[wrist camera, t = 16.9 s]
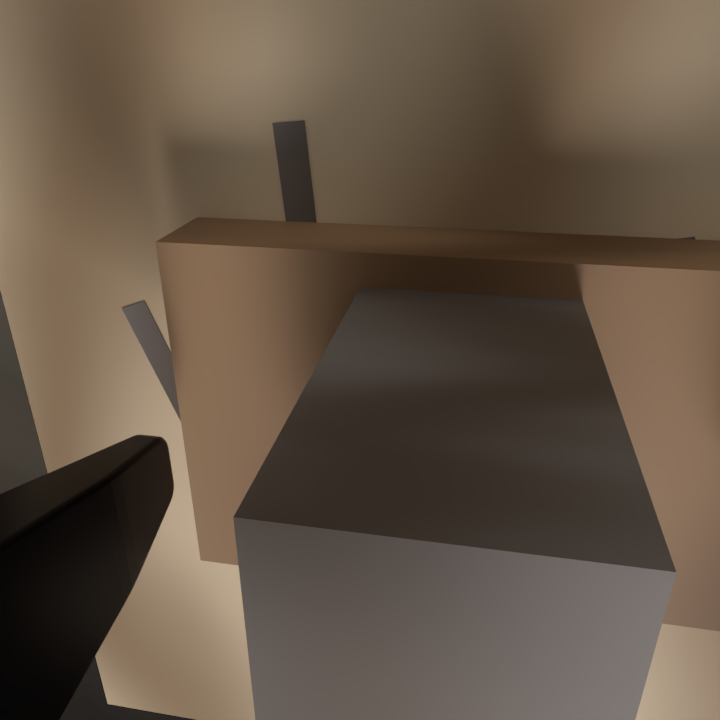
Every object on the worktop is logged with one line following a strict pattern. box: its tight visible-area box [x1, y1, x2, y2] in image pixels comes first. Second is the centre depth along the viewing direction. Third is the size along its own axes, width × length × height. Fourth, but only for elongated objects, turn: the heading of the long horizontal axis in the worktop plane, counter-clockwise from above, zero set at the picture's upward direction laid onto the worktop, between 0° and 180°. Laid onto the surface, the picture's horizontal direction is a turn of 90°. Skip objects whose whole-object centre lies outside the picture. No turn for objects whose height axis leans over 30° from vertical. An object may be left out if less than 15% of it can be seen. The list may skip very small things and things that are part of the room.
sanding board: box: [0, 0, 720, 720], centre depth 12 cm, size 18×20×2 cm
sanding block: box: [155, 217, 720, 720], centre depth 8 cm, size 9×6×6 cm, turn 90°
